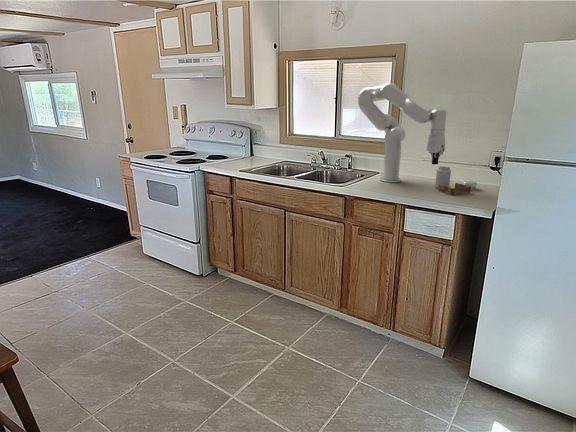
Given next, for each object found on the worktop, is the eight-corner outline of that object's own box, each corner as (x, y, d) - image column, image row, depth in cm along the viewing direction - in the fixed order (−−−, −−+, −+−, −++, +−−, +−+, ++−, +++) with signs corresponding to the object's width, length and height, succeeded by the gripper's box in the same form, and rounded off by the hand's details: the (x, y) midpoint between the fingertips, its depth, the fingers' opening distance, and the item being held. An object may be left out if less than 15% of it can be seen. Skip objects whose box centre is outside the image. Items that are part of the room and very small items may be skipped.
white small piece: (459, 188, 223) (460, 181, 222) (469, 187, 225) (470, 180, 224) (469, 190, 217) (470, 183, 216) (478, 189, 219) (479, 182, 218)
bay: (438, 190, 217) (439, 184, 216) (456, 188, 221) (457, 182, 220) (451, 195, 208) (452, 189, 207) (469, 193, 212) (470, 186, 211)
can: (438, 185, 228) (440, 165, 224) (451, 188, 223) (453, 167, 219) (432, 188, 223) (434, 167, 219) (445, 190, 218) (447, 169, 214)
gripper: (423, 131, 227) (421, 162, 232) (441, 133, 214) (438, 166, 219) (433, 130, 229) (431, 161, 235) (452, 132, 216) (449, 165, 221)
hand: (434, 164), depth 227 cm, fingers closed
